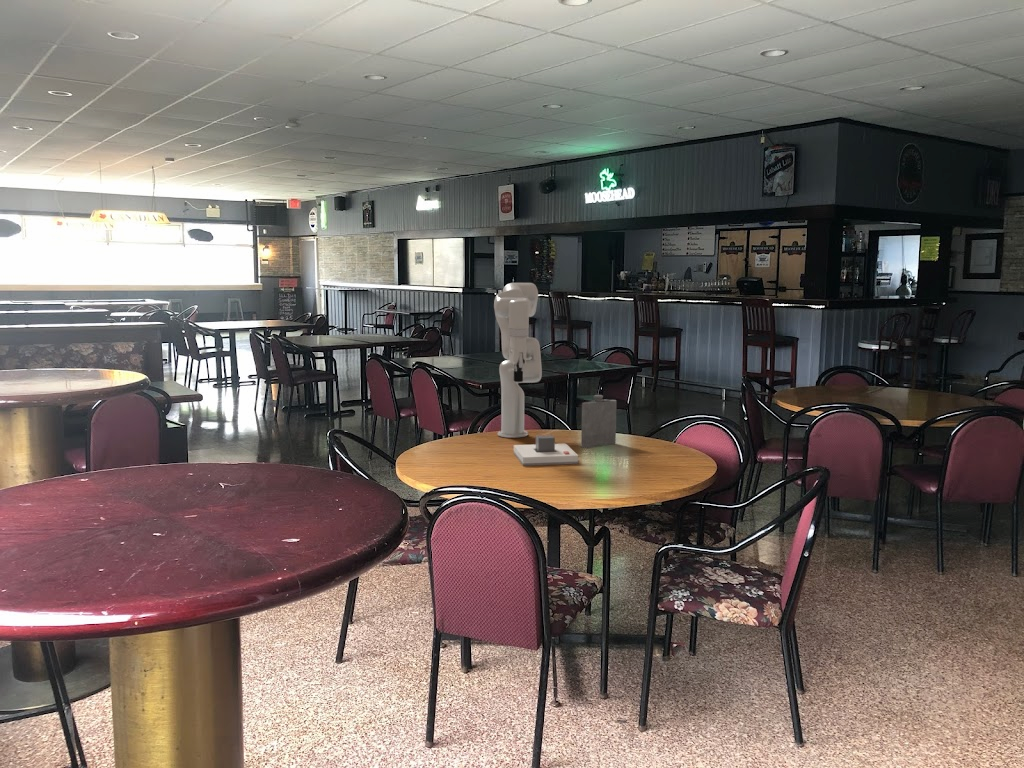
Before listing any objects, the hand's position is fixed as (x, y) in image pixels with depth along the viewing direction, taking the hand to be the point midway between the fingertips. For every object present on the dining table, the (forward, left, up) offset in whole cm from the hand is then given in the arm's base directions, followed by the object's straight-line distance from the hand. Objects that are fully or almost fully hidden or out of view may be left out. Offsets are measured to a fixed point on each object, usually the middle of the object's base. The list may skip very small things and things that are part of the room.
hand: (518, 381), depth 302 cm
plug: (+14, +8, -26) cm, 30 cm away
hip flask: (-4, +33, -27) cm, 43 cm away
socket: (+14, +8, -27) cm, 31 cm away
